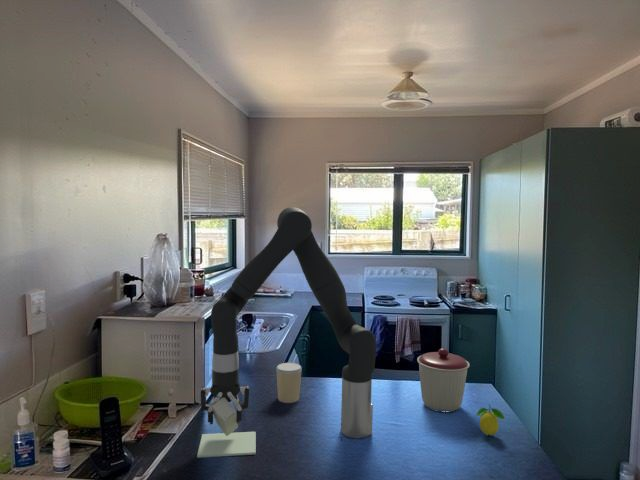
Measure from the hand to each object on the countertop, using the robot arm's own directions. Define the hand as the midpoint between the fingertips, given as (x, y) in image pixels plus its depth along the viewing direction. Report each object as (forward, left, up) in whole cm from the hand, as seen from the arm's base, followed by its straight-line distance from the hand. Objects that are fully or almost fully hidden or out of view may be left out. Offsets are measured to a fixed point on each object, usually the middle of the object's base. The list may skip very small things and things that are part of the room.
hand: (225, 422), depth 128 cm
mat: (-1, 0, -7) cm, 7 cm away
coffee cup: (-21, -31, -7) cm, 38 cm away
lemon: (-81, +3, -7) cm, 81 cm away
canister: (-75, -19, -7) cm, 78 cm away
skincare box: (0, -5, -3) cm, 6 cm away
